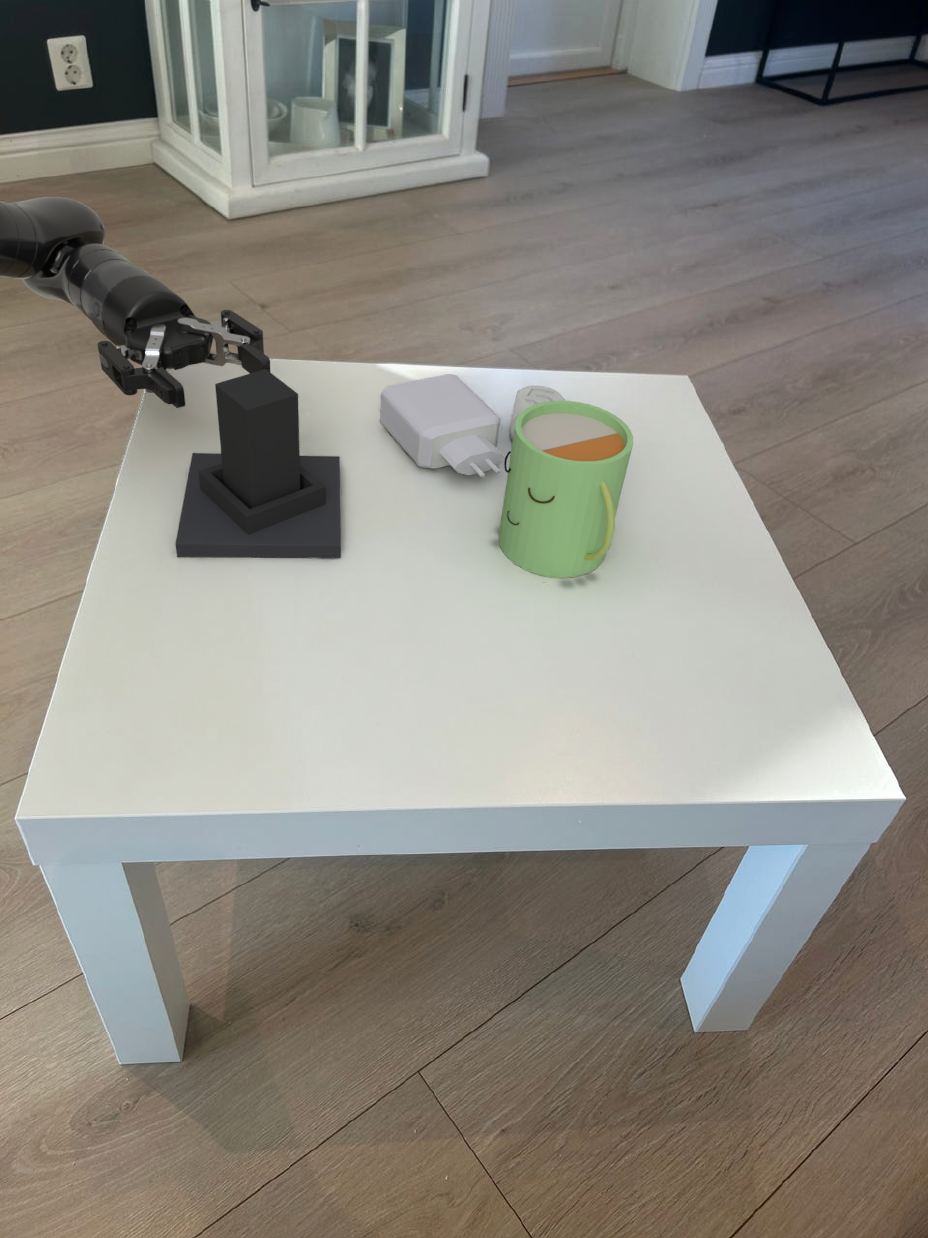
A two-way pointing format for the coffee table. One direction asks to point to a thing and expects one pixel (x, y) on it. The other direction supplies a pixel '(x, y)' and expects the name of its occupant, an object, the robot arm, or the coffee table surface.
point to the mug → (563, 487)
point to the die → (531, 401)
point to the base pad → (261, 515)
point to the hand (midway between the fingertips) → (224, 384)
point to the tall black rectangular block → (258, 437)
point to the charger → (442, 424)
